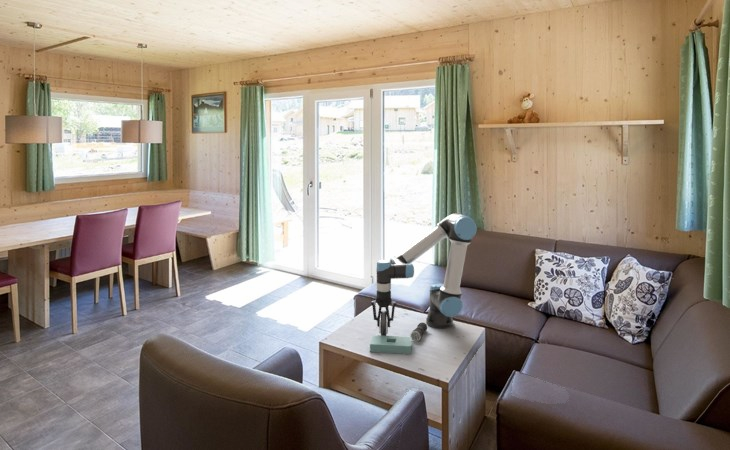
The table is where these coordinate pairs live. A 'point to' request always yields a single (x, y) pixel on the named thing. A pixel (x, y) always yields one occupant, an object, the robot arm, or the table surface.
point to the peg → (383, 323)
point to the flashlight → (418, 331)
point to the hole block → (391, 344)
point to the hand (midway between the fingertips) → (383, 332)
